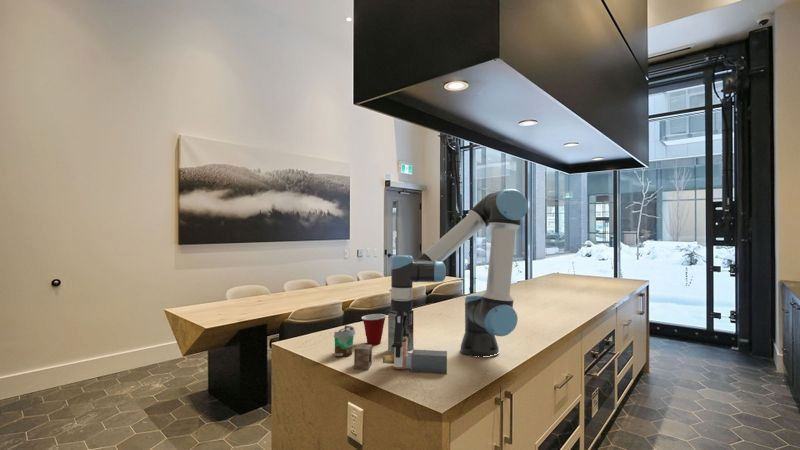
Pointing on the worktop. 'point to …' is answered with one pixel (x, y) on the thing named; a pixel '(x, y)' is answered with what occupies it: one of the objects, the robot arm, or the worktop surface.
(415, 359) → the block
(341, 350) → the food container
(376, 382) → the worktop surface
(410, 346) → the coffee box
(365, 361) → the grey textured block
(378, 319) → the plastic cup
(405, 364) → the slider
